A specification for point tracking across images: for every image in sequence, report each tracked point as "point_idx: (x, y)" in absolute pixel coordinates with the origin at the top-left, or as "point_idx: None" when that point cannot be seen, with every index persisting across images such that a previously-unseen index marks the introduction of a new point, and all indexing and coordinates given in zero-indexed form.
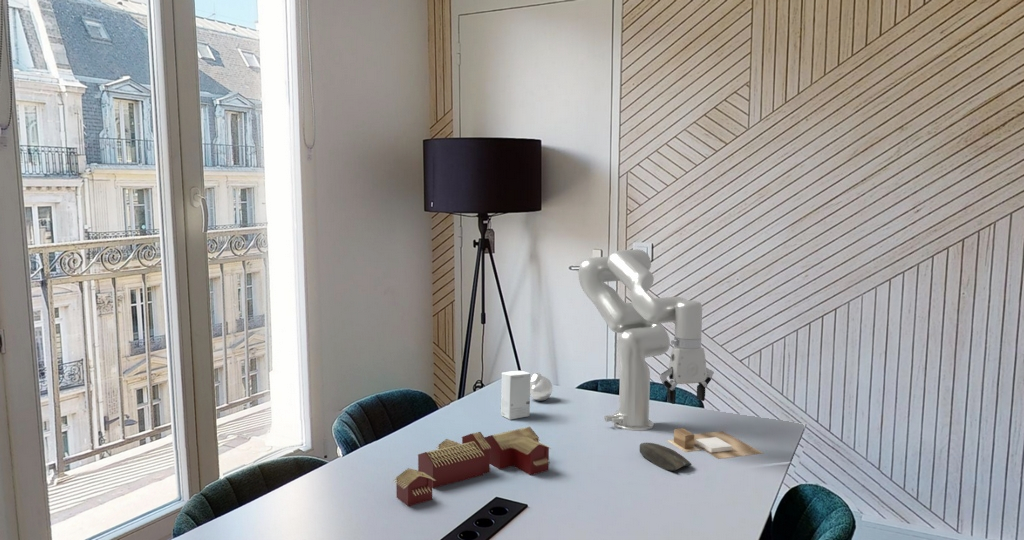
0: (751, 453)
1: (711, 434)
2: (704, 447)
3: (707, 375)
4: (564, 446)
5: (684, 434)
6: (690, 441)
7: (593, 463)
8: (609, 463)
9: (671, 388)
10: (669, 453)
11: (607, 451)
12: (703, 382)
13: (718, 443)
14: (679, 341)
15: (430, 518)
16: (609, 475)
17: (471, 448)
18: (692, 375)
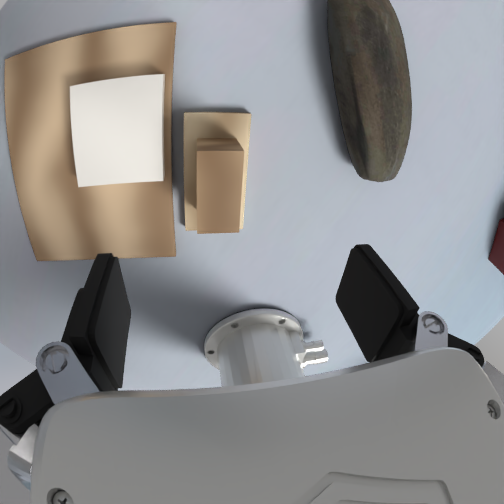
0: (36, 55)
1: (73, 243)
2: (163, 119)
3: (22, 453)
4: (448, 261)
5: (238, 165)
6: (214, 143)
7: (473, 165)
8: (457, 149)
9: (432, 325)
10: (391, 51)
11: (419, 213)
12: (73, 393)
13: (102, 121)
14: None
15: None
16: (484, 98)
17: None
18: (334, 491)
